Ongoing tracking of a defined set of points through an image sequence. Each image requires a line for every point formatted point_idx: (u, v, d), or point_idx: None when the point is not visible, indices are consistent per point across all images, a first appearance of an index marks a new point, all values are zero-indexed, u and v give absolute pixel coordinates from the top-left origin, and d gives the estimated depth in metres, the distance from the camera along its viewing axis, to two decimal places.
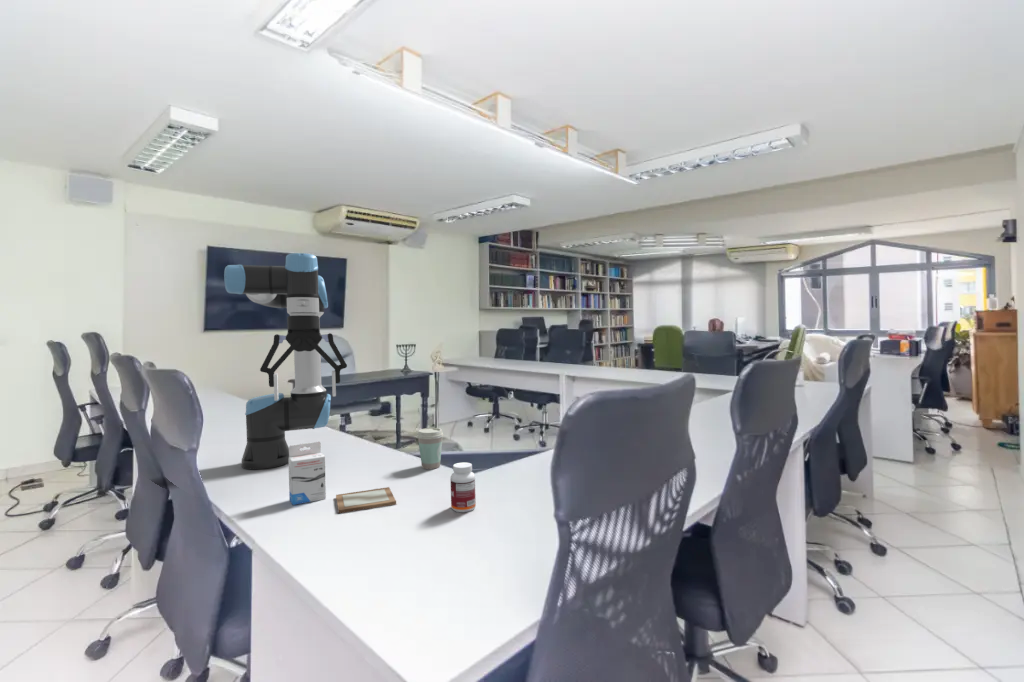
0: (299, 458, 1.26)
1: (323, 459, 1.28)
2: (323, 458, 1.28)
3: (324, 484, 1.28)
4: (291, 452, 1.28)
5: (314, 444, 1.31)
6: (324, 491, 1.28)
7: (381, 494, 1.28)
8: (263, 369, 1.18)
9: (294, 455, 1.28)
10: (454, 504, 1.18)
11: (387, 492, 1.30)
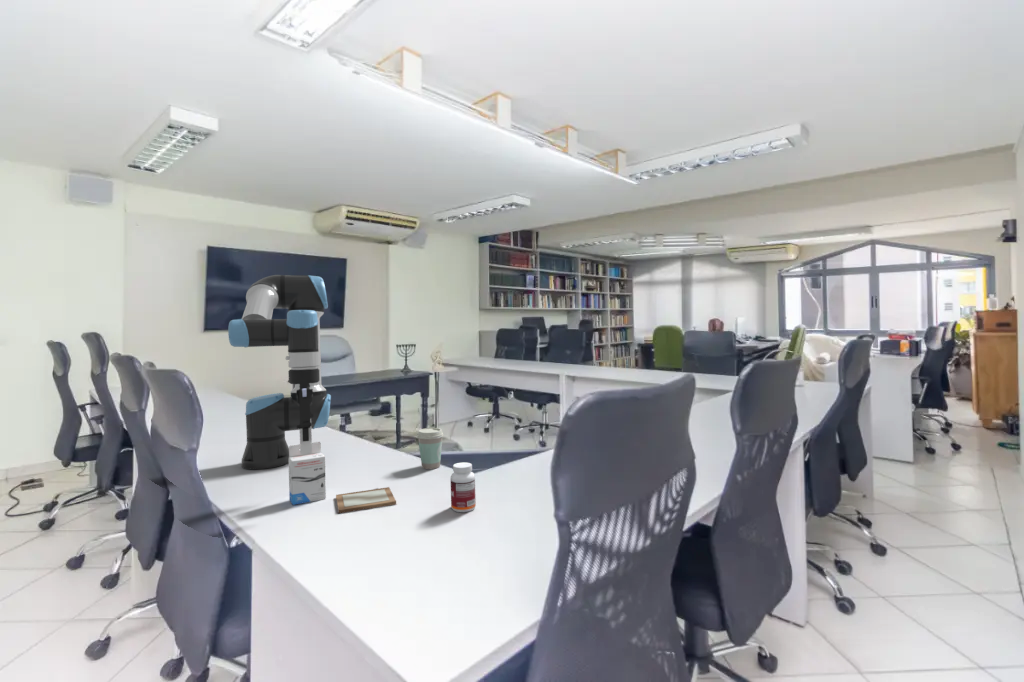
0: (299, 458, 1.26)
1: (323, 459, 1.28)
2: (323, 458, 1.28)
3: (324, 484, 1.28)
4: (291, 451, 1.28)
5: (314, 444, 1.31)
6: (324, 491, 1.28)
7: (381, 494, 1.28)
8: None
9: (294, 455, 1.28)
10: (454, 504, 1.18)
11: (387, 492, 1.30)
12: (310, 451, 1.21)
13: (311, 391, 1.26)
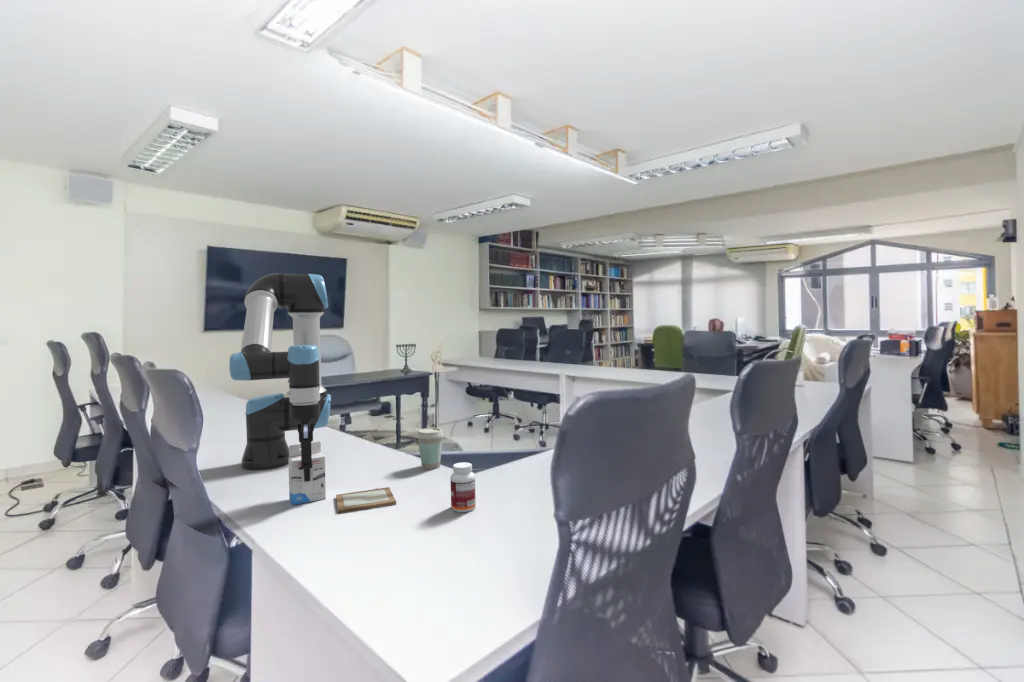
0: (299, 458, 1.26)
1: (323, 459, 1.28)
2: (323, 458, 1.28)
3: (324, 484, 1.28)
4: (291, 451, 1.28)
5: (314, 444, 1.31)
6: (324, 491, 1.28)
7: (381, 494, 1.28)
8: None
9: (294, 455, 1.28)
10: (454, 504, 1.18)
11: (387, 492, 1.30)
12: (311, 490, 1.25)
13: (312, 427, 1.26)
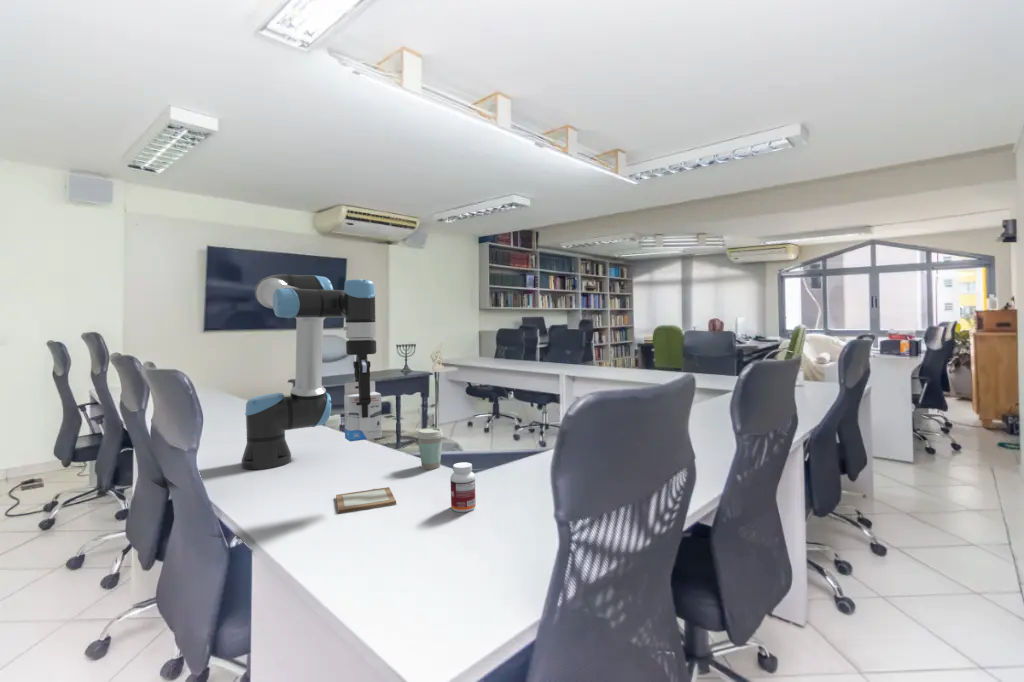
0: (356, 395, 1.23)
1: (379, 397, 1.25)
2: (379, 396, 1.25)
3: (380, 422, 1.26)
4: (347, 389, 1.25)
5: None
6: (380, 429, 1.26)
7: (381, 494, 1.28)
8: None
9: (349, 393, 1.26)
10: (454, 504, 1.18)
11: (387, 492, 1.30)
12: (369, 427, 1.23)
13: (369, 363, 1.24)
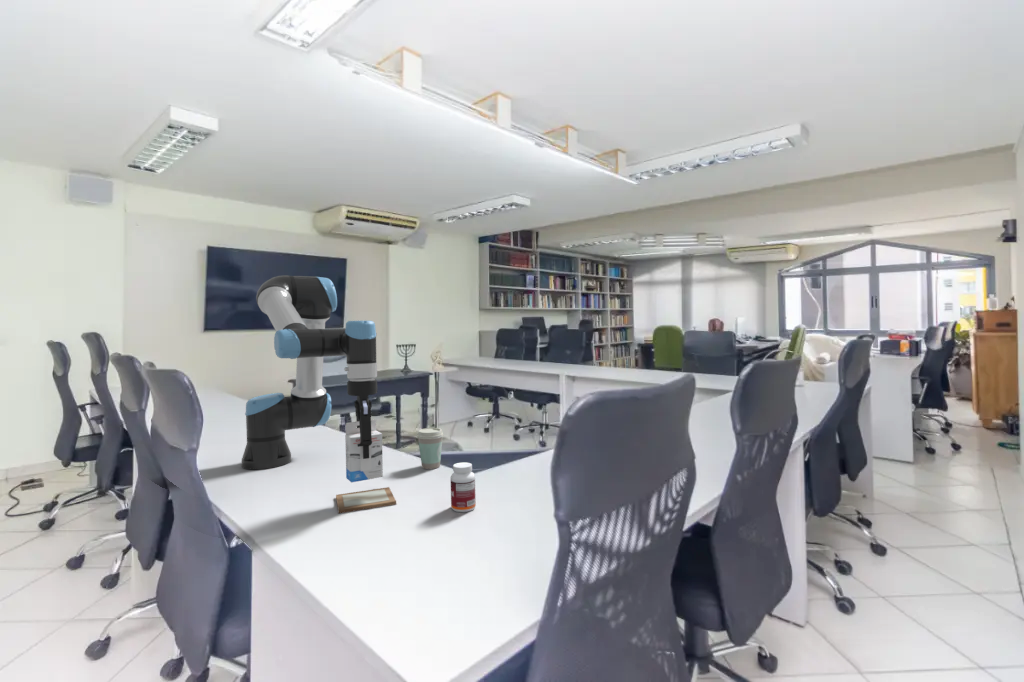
0: (357, 435, 1.24)
1: (380, 436, 1.26)
2: (380, 435, 1.26)
3: (381, 462, 1.26)
4: (348, 429, 1.26)
5: None
6: (381, 469, 1.26)
7: (381, 494, 1.28)
8: None
9: (351, 432, 1.26)
10: (454, 504, 1.18)
11: (387, 492, 1.30)
12: (370, 468, 1.23)
13: (370, 404, 1.24)
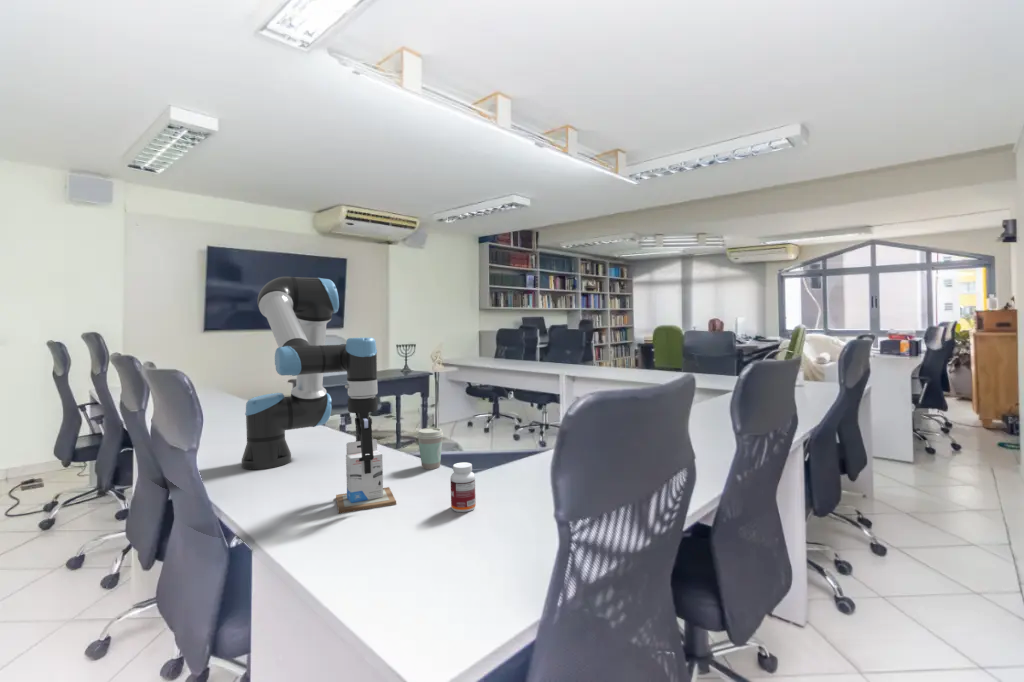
0: (357, 455, 1.24)
1: (381, 457, 1.26)
2: (381, 456, 1.26)
3: (381, 482, 1.26)
4: (349, 449, 1.26)
5: None
6: (381, 489, 1.26)
7: None
8: None
9: (351, 452, 1.26)
10: (454, 504, 1.18)
11: (387, 492, 1.30)
12: (371, 483, 1.20)
13: (370, 420, 1.25)
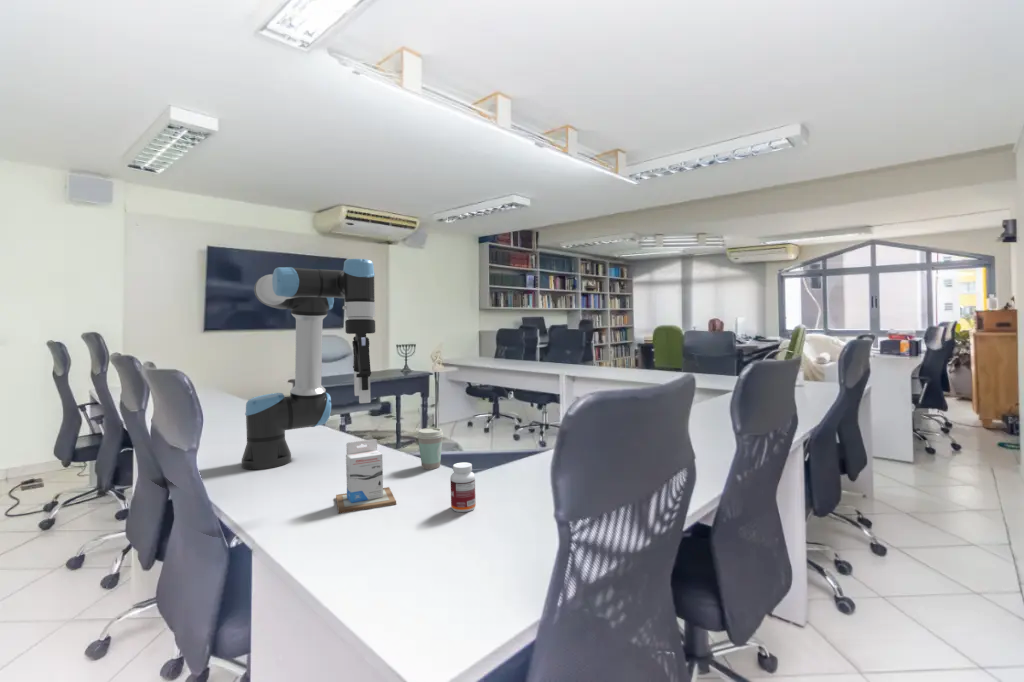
0: (357, 455, 1.24)
1: (381, 457, 1.26)
2: (381, 456, 1.26)
3: (381, 482, 1.26)
4: (349, 449, 1.26)
5: (370, 441, 1.29)
6: (381, 489, 1.26)
7: None
8: (353, 366, 1.34)
9: (351, 452, 1.26)
10: (454, 504, 1.18)
11: (387, 492, 1.30)
12: (369, 400, 1.20)
13: None
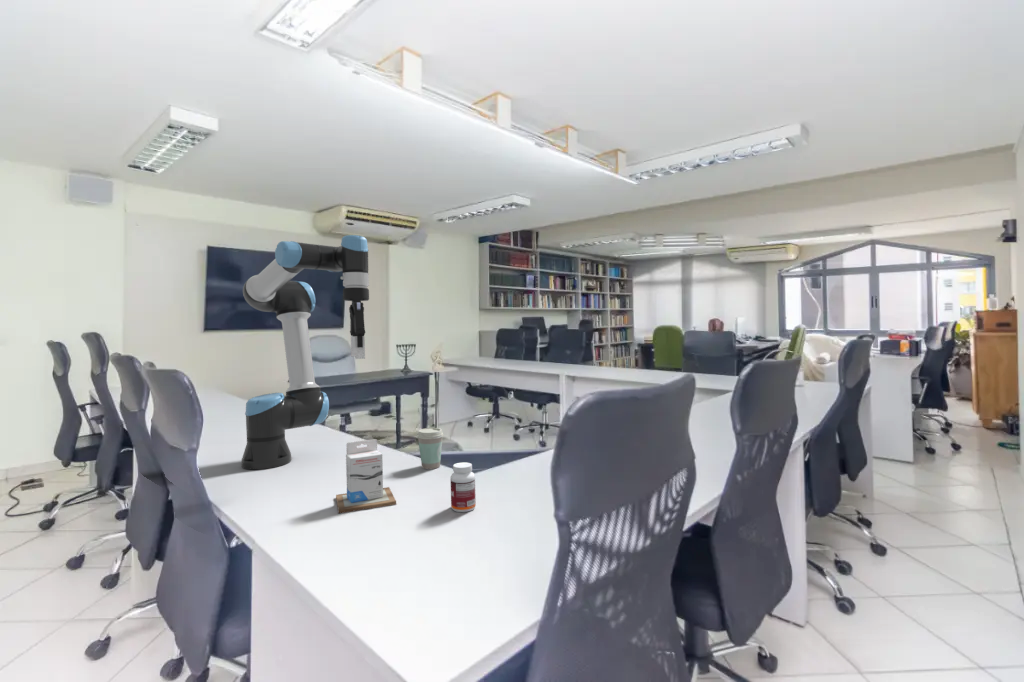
0: (357, 455, 1.24)
1: (381, 457, 1.26)
2: (381, 456, 1.26)
3: (381, 482, 1.26)
4: (349, 449, 1.26)
5: (370, 441, 1.29)
6: (381, 489, 1.26)
7: None
8: (350, 331, 1.54)
9: (351, 452, 1.26)
10: (454, 504, 1.18)
11: (387, 492, 1.30)
12: (363, 357, 1.39)
13: (362, 307, 1.44)
